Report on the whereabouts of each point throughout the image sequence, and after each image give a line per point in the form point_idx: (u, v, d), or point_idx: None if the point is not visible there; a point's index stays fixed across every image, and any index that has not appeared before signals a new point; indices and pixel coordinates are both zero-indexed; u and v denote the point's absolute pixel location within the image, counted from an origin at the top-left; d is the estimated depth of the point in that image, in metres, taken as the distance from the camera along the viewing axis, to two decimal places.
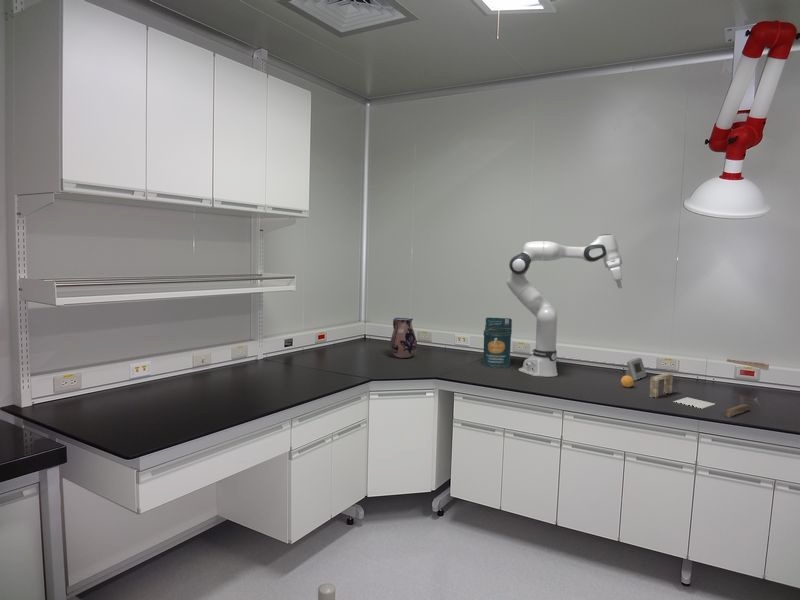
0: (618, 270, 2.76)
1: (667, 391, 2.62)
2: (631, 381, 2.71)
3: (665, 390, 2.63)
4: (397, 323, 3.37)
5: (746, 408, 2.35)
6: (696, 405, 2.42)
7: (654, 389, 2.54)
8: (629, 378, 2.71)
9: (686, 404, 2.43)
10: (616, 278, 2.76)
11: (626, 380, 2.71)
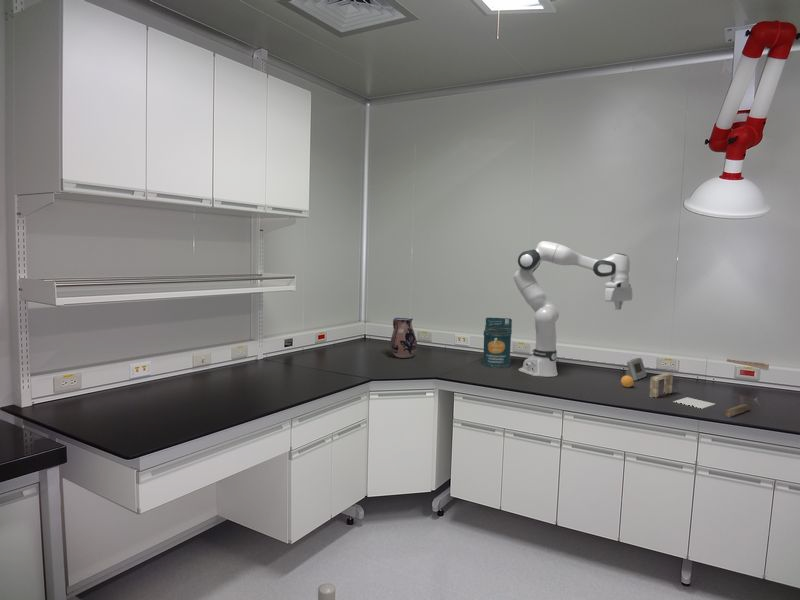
0: (610, 292, 2.75)
1: (667, 391, 2.62)
2: (631, 381, 2.71)
3: (665, 390, 2.63)
4: (397, 323, 3.37)
5: (746, 408, 2.35)
6: (696, 405, 2.42)
7: (654, 389, 2.54)
8: (629, 378, 2.71)
9: (686, 404, 2.43)
10: (606, 299, 2.77)
11: (626, 380, 2.71)
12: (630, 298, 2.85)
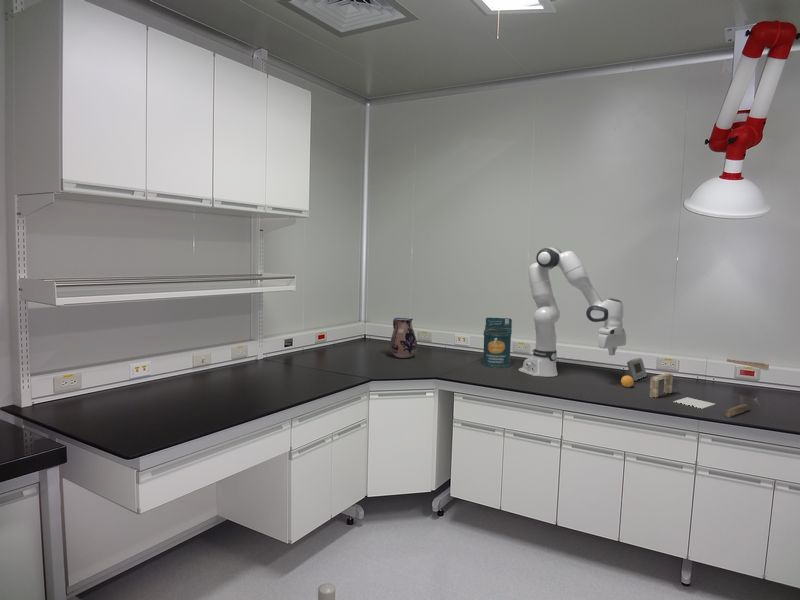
0: (604, 338, 2.73)
1: (667, 391, 2.62)
2: (631, 381, 2.71)
3: (665, 390, 2.63)
4: (397, 323, 3.37)
5: (746, 408, 2.35)
6: (696, 405, 2.42)
7: (654, 389, 2.54)
8: (629, 378, 2.71)
9: (686, 404, 2.43)
10: (600, 345, 2.75)
11: (626, 380, 2.71)
12: (624, 343, 2.83)
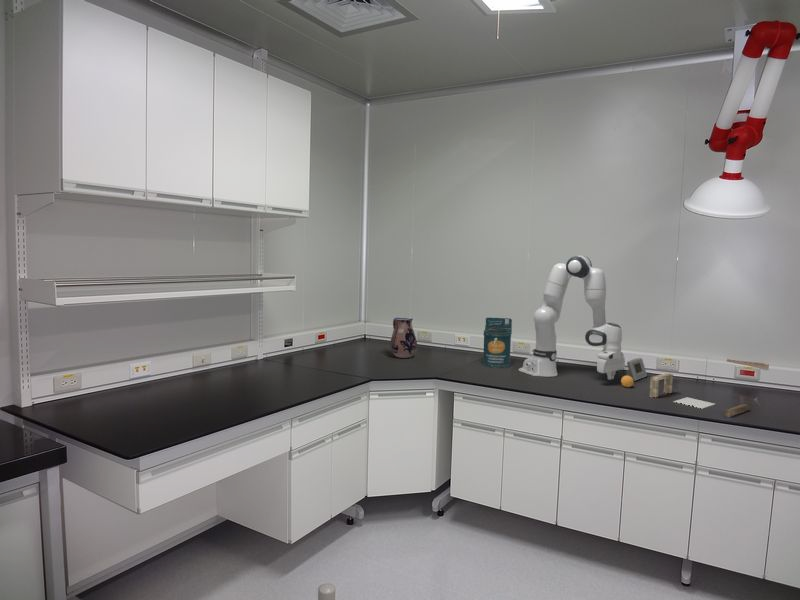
0: (602, 363, 2.74)
1: (667, 391, 2.62)
2: (631, 381, 2.71)
3: (665, 390, 2.63)
4: (397, 323, 3.37)
5: (746, 408, 2.35)
6: (696, 405, 2.42)
7: (654, 389, 2.54)
8: (629, 378, 2.71)
9: (686, 404, 2.43)
10: (598, 370, 2.76)
11: (626, 380, 2.71)
12: (622, 367, 2.84)
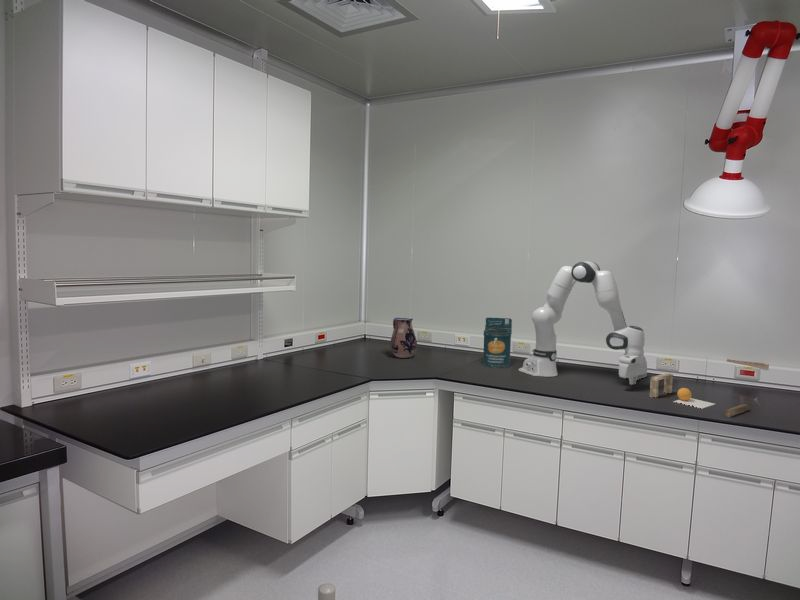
0: (625, 368, 2.64)
1: (667, 391, 2.62)
2: None
3: (665, 390, 2.63)
4: (397, 323, 3.37)
5: (746, 408, 2.35)
6: (696, 405, 2.42)
7: (654, 389, 2.54)
8: None
9: (686, 404, 2.43)
10: (620, 375, 2.66)
11: (679, 396, 2.50)
12: (645, 372, 2.74)
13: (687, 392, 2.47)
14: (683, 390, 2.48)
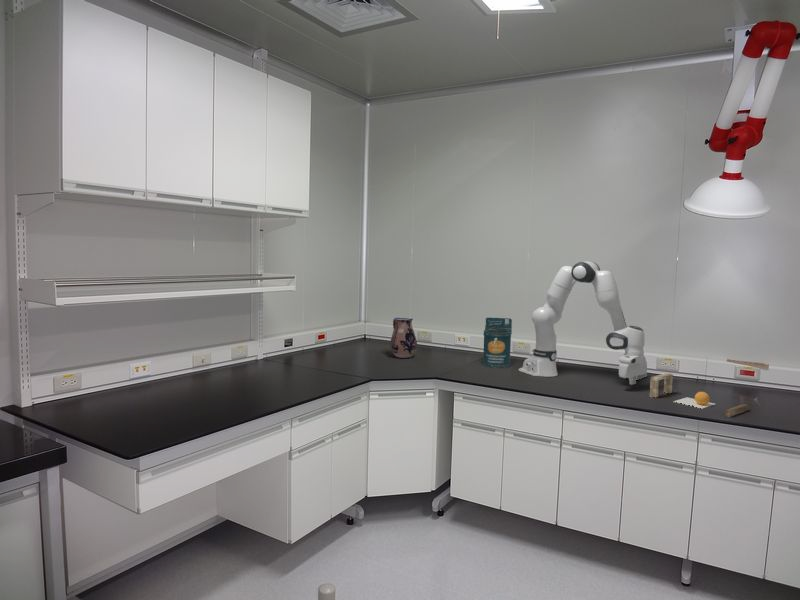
0: (625, 368, 2.64)
1: (667, 391, 2.62)
2: (706, 396, 2.41)
3: (665, 390, 2.63)
4: (397, 323, 3.37)
5: (746, 408, 2.35)
6: (696, 405, 2.42)
7: (654, 389, 2.54)
8: (703, 393, 2.42)
9: (686, 404, 2.43)
10: (620, 375, 2.66)
11: (701, 396, 2.41)
12: (645, 372, 2.74)
13: None
14: (701, 403, 2.42)
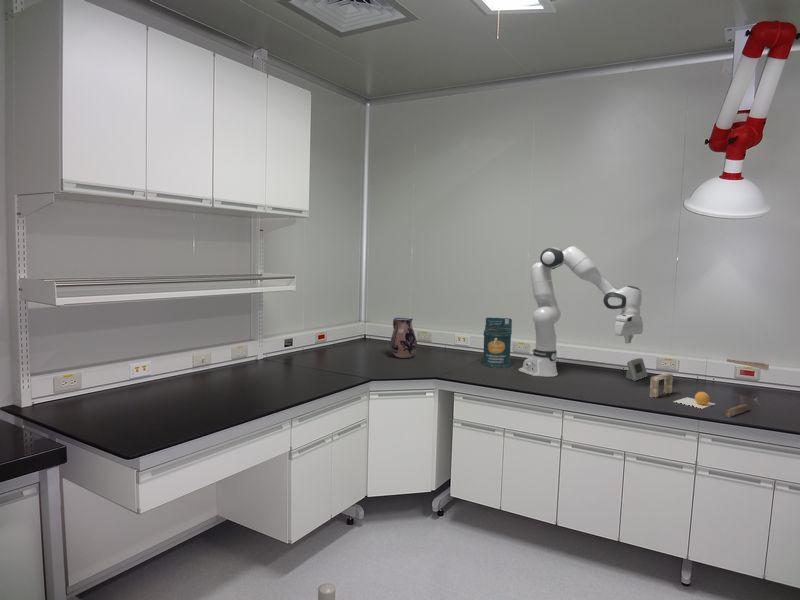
0: (621, 326, 2.69)
1: (667, 391, 2.62)
2: (706, 396, 2.41)
3: (665, 390, 2.63)
4: (397, 323, 3.37)
5: (746, 408, 2.35)
6: (696, 405, 2.42)
7: (654, 389, 2.54)
8: (703, 393, 2.42)
9: (686, 404, 2.43)
10: (616, 332, 2.71)
11: (701, 396, 2.41)
12: (640, 332, 2.79)
13: None
14: (701, 403, 2.42)
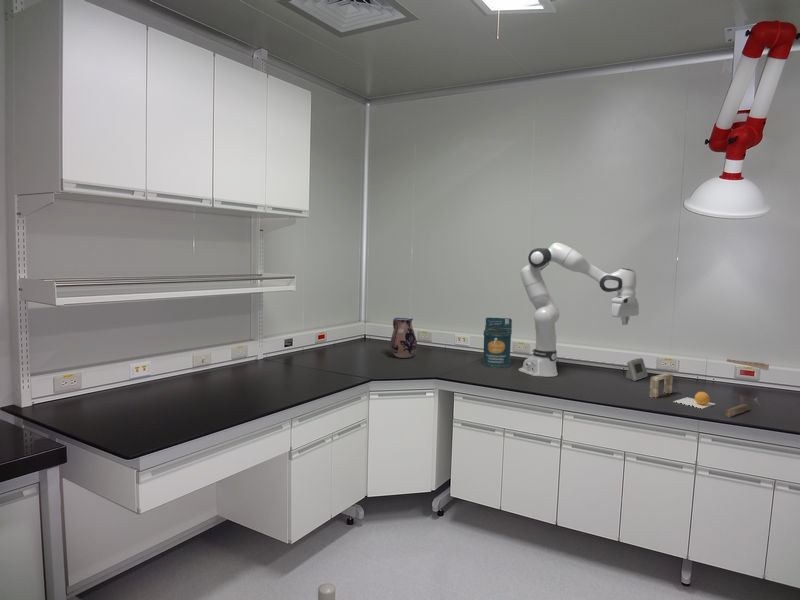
0: (617, 307, 2.75)
1: (667, 391, 2.62)
2: (706, 396, 2.41)
3: (665, 390, 2.63)
4: (397, 323, 3.37)
5: (746, 408, 2.35)
6: (696, 405, 2.42)
7: (654, 389, 2.54)
8: (703, 393, 2.42)
9: (686, 404, 2.43)
10: (613, 314, 2.76)
11: (701, 396, 2.41)
12: (637, 313, 2.85)
13: None
14: (701, 403, 2.42)
